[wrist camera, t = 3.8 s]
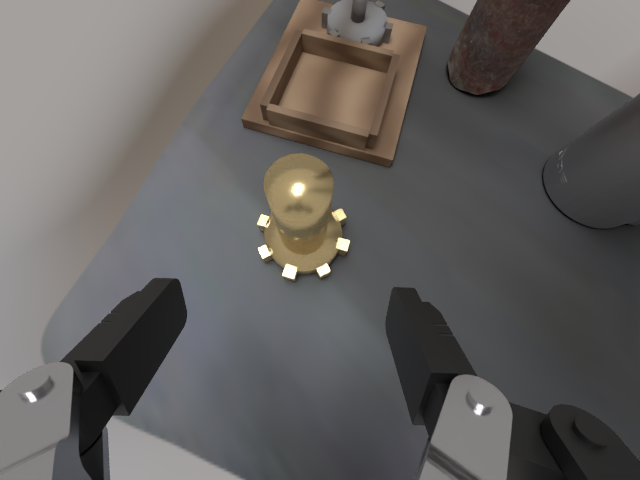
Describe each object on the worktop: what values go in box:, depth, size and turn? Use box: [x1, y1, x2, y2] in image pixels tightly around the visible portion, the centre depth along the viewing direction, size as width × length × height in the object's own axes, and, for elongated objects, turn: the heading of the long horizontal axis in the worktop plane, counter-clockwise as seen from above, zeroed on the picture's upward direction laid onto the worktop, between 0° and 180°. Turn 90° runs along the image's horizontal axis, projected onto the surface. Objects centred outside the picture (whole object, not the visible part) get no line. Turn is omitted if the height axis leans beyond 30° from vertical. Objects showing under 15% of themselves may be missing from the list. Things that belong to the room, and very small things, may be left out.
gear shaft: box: [257, 153, 350, 282], centre depth 20 cm, size 8×8×10 cm
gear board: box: [241, 0, 427, 167], centre depth 29 cm, size 16×20×5 cm
